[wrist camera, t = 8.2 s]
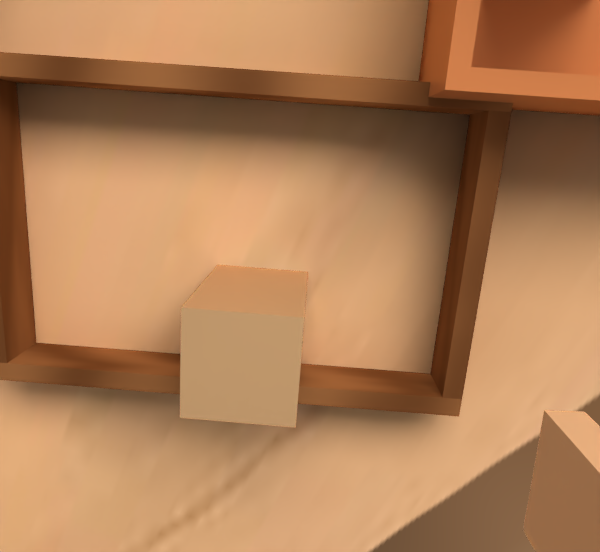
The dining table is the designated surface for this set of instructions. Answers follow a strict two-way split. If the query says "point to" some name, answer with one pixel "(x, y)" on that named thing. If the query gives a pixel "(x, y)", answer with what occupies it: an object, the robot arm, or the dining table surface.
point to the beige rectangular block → (243, 346)
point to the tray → (262, 86)
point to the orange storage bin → (515, 53)
